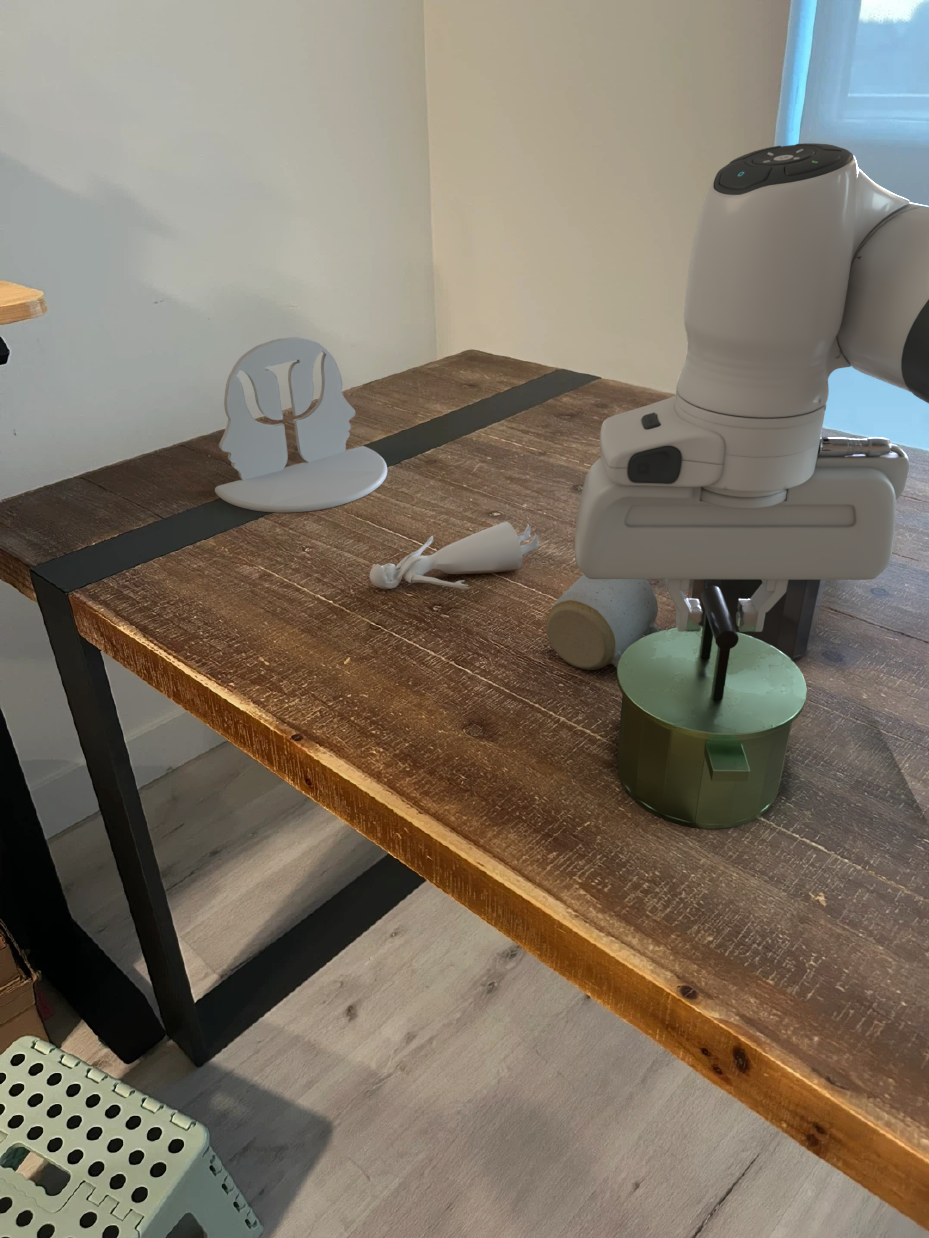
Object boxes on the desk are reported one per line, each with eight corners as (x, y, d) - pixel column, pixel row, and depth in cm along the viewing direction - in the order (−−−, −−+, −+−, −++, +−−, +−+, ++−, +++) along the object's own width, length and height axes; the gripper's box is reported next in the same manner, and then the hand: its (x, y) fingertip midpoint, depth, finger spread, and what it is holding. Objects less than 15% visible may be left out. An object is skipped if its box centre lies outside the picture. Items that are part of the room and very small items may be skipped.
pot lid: (779, 640, 76) (794, 561, 72) (826, 749, 65) (846, 662, 61) (608, 638, 76) (614, 560, 73) (625, 747, 65) (633, 661, 61)
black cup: (795, 600, 96) (811, 517, 91) (828, 668, 86) (847, 579, 81) (676, 600, 96) (685, 517, 92) (695, 667, 87) (707, 579, 82)
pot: (752, 705, 82) (766, 619, 77) (805, 858, 67) (827, 763, 63) (607, 703, 82) (614, 618, 78) (629, 855, 68) (639, 761, 63)
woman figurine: (556, 544, 97) (382, 587, 93) (557, 582, 99) (387, 626, 95) (512, 497, 106) (352, 535, 102) (514, 533, 109) (358, 571, 105)
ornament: (365, 448, 131) (356, 323, 122) (420, 480, 122) (414, 346, 113) (212, 491, 120) (189, 357, 111) (260, 529, 111) (240, 386, 102)
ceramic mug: (538, 660, 88) (541, 586, 84) (582, 619, 93) (587, 548, 89) (645, 700, 83) (654, 624, 79) (685, 655, 88) (696, 582, 84)
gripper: (898, 419, 63) (856, 604, 70) (577, 421, 63) (569, 603, 71) (934, 458, 57) (885, 653, 65) (584, 459, 58) (574, 652, 65)
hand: (717, 627), depth 68 cm, fingers open, 3 cm apart
